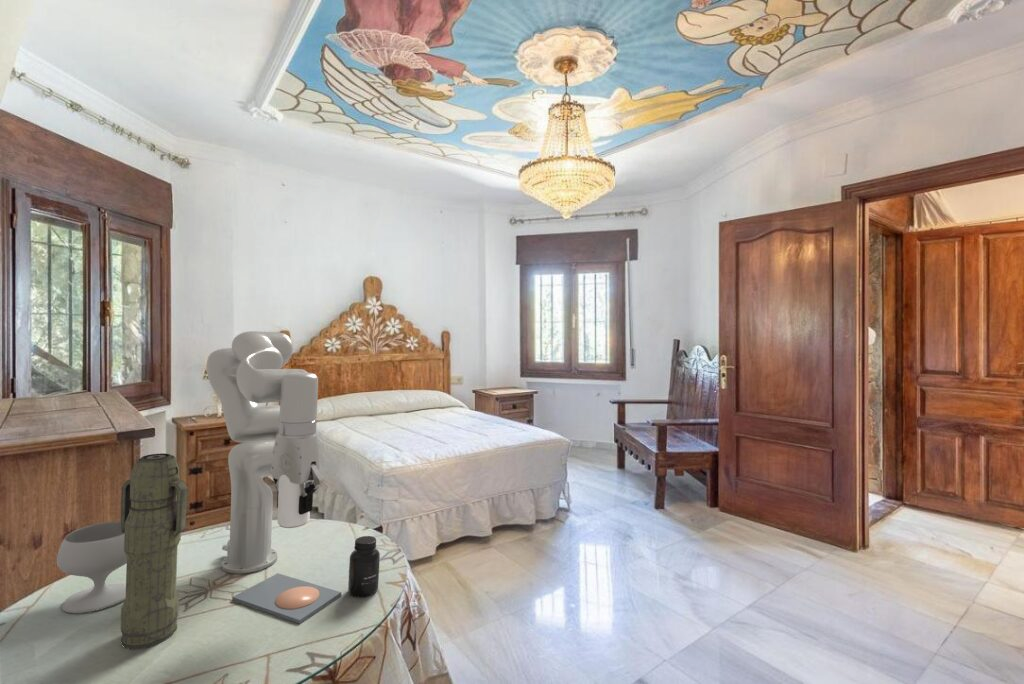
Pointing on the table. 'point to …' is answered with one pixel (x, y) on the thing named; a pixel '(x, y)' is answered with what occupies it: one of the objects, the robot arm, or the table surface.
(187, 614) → the table surface
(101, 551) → the chalice
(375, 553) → the supplement bottle
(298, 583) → the card
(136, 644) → the thermos
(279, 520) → the can
